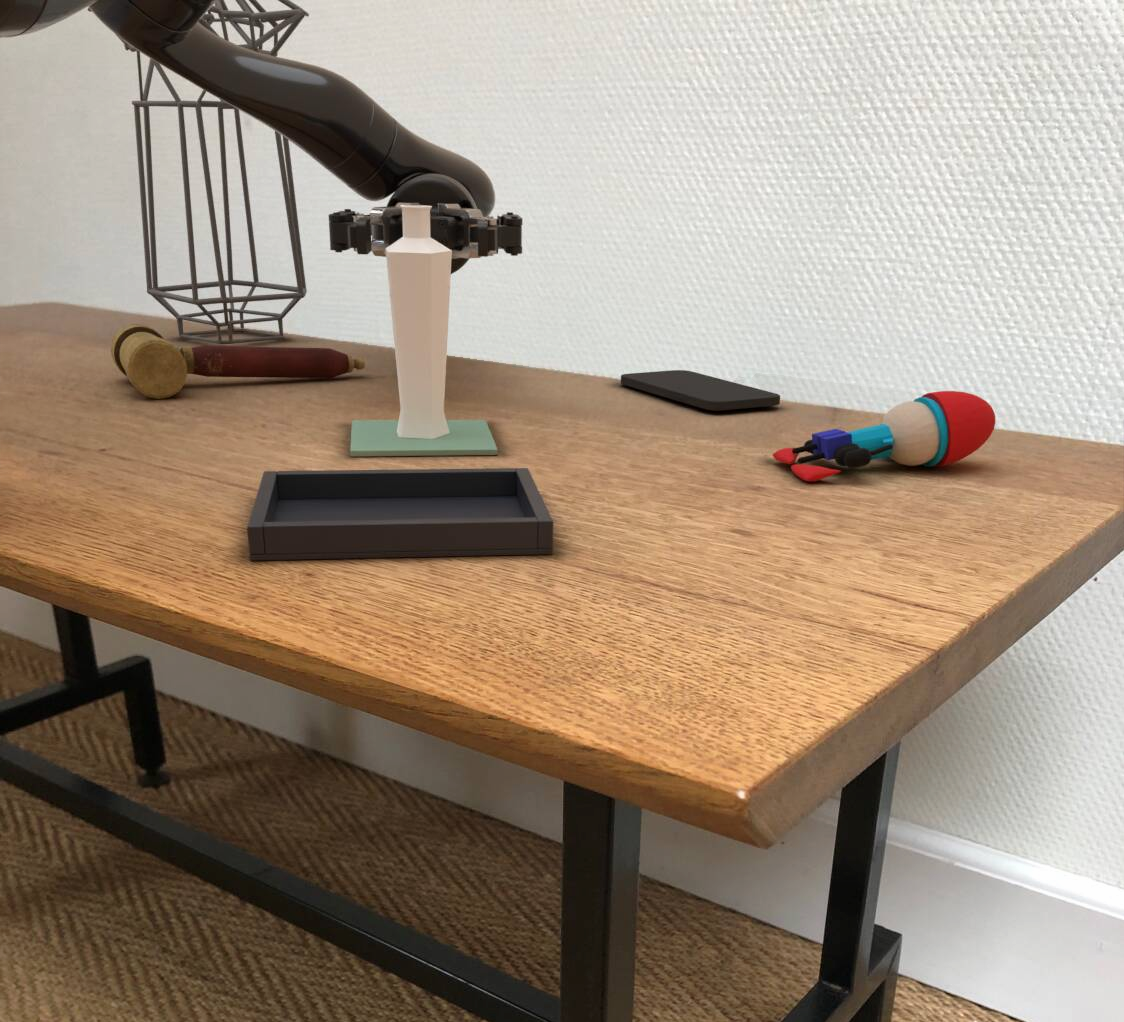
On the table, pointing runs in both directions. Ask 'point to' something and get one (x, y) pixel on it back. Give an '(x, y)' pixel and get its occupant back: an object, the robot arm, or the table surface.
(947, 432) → the toy figure
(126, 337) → the gavel
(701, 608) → the table surface
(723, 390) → the phone
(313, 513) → the tray
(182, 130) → the geometric lantern
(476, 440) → the mat
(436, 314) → the perfume bottle
